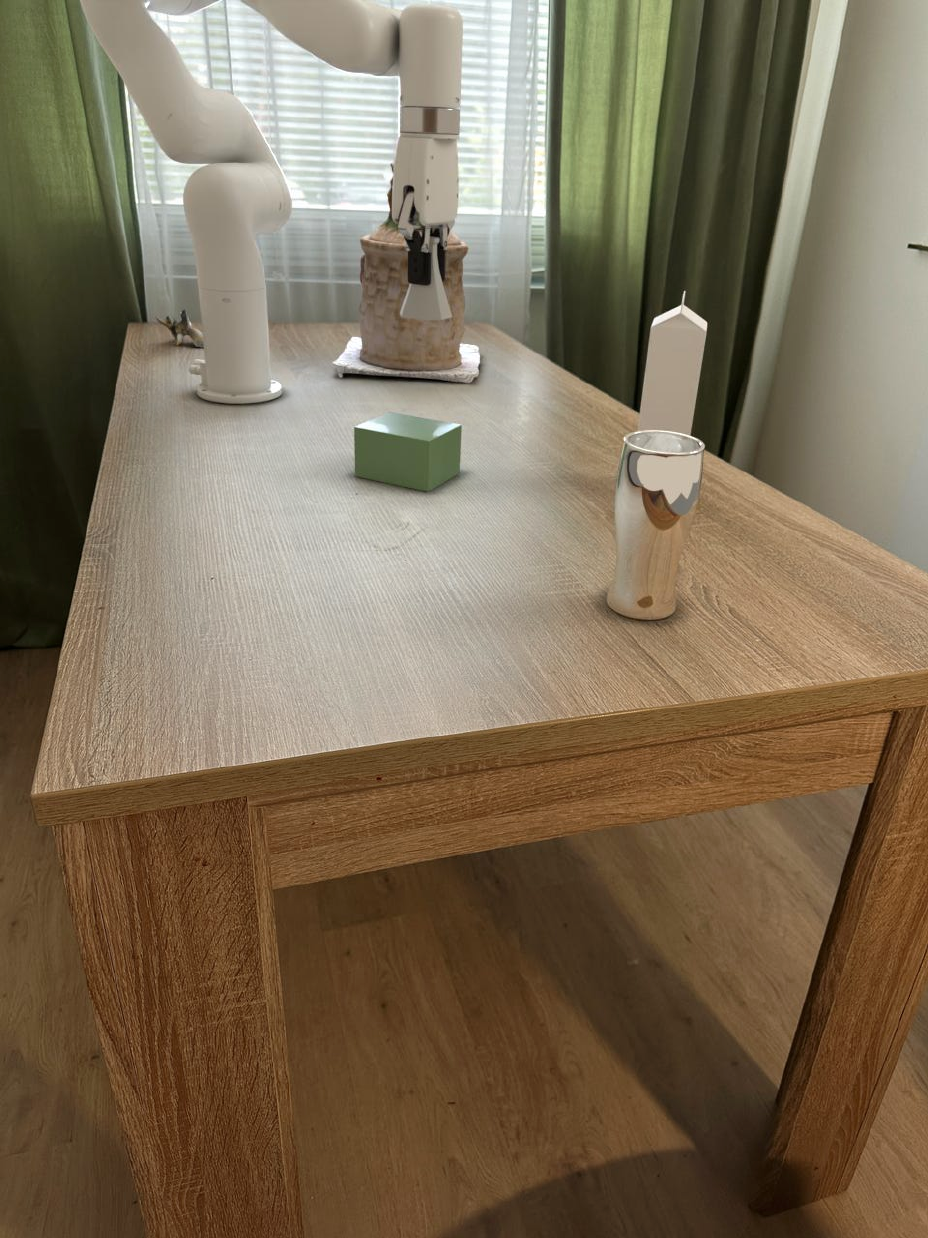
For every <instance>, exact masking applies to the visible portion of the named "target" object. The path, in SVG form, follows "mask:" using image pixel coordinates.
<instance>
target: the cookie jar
mask: <svg viewBox="0 0 928 1238" xmlns="http://www.w3.org/2000/svg"><path fill="white" fill-rule="evenodd" d="M389 165H390V167H391V171H392V174H393V173H394V162H391V163H390V164H389ZM389 183H390V188H389V190H388V192H387V193H386V196H387V203H388V206H389V212H388V216H387V218H386V220H385V221H384V222H382V223H381V224H380V225H379V226H378V227H377V228H376V229H375V230H374V231H373V232H372V233H371V234H366V235H364V236H362V237H361V238H360V239H359V242H360V247H361V250H362V252H363V254H362V255H361V257H360V261H359V262H360V273H359V281H360V284H361V294H360V295H361V297H360V303H359V307H358V317H357V318H358V323H359V324H358V326H359V331H360V337H357V336H352V337H351V338H350V340H349V341H348V342H347V344H346V347H345V349H344V351H343V352H341V354H340V355H339V356H338V358H336V359H335V360H333V361H332V365H333V366H334V368H335V369H336V371H337V375H338V377H339V378H340V379H341V378H343V377H344V375H343V374H357V375H368V376H380V377H381V376H383V377H400V378H401V377H402V378H415V379H417V378H418V379H430V380H437V381H447V382H453V383H465V384H471V383H472V382H473V380H474V378H478V376H479V374H480V370H479V365H480V364H481V358H482V357H481V355H480V347H478V346H477V345H474V344H467V343H461V342H462V340H463V337H464V333H465V322H466V316H465V311H466V296H465V292H464V282H463V275H464V261H463V260H464V258H465V257H466V256H467V254H468V251H469V245H468V244H467V243H465V242H464V241H462V240H461V239H460V237H458V236H457V235H456V234H455V233H454V232H453V231H452V230H450V232H449V235H448V246H447V249H446V261H445V281H443V282H442V283H443V287H444V291H445V294H446V297H447V301H448V304H449V307H450V311H451V314H452V317H451V318H447V319H444V320H417V319H411V318H404V317H401V315H400V311H401V308H402V305H403V302H404V299H405V297H406V294H407V291H408V288H409V285H410V283H408V251H407V250H406V240H405V238H404V236H403V235H402V234H401V233H400V232H399V230H398V224H397V223H395V222H394V221H393V219H392V190H393V176H392V178H391V179H390V181H389ZM414 225H421V223H420V222H416V223H414ZM434 229H435V228H433V232H434ZM417 231H419V233H420V235H421V236H422V230H417ZM443 250H445V249H443Z"/></svg>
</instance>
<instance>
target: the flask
mask: <svg viewBox="0 0 928 1238" xmlns="http://www.w3.org/2000/svg"><path fill="white" fill-rule="evenodd" d="M421 237H422V236H421ZM438 243H439V238H438V237H430V239H429V250H428V252H431V253H432V257H431V284H430V285H418V284H410V285H409V288H408V291H407V294H406V297H405V299H404V302H403V305H402V308H401V311H400V315H401V317H404V318H411V319H417V320H444V319H447V318H451V317H452V314H451V311H450V307H449V304H448V301H447V297H446V294H445V291H444V287H443V283H442V279H441V276H440V272H439V267H438V259H437V244H438Z"/></svg>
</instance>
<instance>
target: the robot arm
mask: <svg viewBox="0 0 928 1238" xmlns="http://www.w3.org/2000/svg"><path fill="white" fill-rule="evenodd" d="M222 1H223V0H79V2H80V6H81V9H82V12H83V14H84V17H85V19H86V21H87V23H88V25H89V27H90V30H91V32H92V33H93V35H94V37H95V38H96V40H97V42H98V43H99V45H100V47H101V48H102V49H103V51H104V53H105V54H106V56H107V57H108V59H109V60H110V61H111V63H112V65H113V66H114V68H115V69H116V71H117V73H118V75H119V77H120V79H121V80H122V82H123V83H124V86H125V87H126V89H127V91H128V93H129V96H130V97H131V98H132V100H133V102H134V104H135V105H136V107H137V109H138V111H139V113H140V114H141V117H142V118H143V120H144V122H145V123H146V126H147V127H148V129H149V131H150V132H151V134H152V136H153V138H154V139H155V141H156V143H157V144H158V146H159V148H160V149H161V150H162V152H163V153H164V154H165V156H167V157H168V158H169V159H170V160H172V161H173V162H176V163H180V164H186V165H203V166H200V167H199V168H197V169H196V170H195V171H193V172H192V173H191V175H190V176H189V177H188V179H187V180H186V183H185V184H184V188H183V193H182V194H183V195H182V202H183V203H182V204H183V211H184V216H185V219H186V224H187V227H188V230H189V234H190V239H191V243H192V249H193V253H194V260H195V269H196V279H197V287H198V297H199V300H198V301H199V308H200V309H199V310H200V320H201V330H202V331H201V332H202V333H203V344H204V348H203V354H204V359H200V358H196V359H194V360H193V362H192V364H190V365H189V367H188V372H189V374H191V375H196V376H200V378H201V383H199V384H198V385H197V386H196V393H197V396H198V397H199V398H201V399H202V400H205V401H208V402H214V403H219V404H231V405H232V404H234V405H240V404H257V403H263V402H268V401H272V400H275V399H277V398H279V397H280V396H281V395H282V394H283V386H282V385H281V384H280V383H279V382H278V381H275V380H272V372H271V371H272V369H271V354H270V337H269V321H268V303H267V287H266V274H265V273H266V272H265V266H264V262H263V258H262V255H261V252H260V249H259V247H258V244H257V241H256V238H255V236H259V235H265V234H266V235H267V234H270V233H271V234H272V233H275V232H276V231H278V230H280V229H281V228H283V227H284V226H285V225H286V224H287V222H289V221H288V220H289V219H290V217H291V214H292V209H293V197H292V191H291V188H290V184H289V182H288V179H287V177H286V175H285V174H284V171H283V169H282V167H281V165H280V164H279V162H278V160H277V158H276V157H275V154H274V153H273V151H272V148H271V147H270V145H269V143H268V141H267V139H266V138H265V136H264V134H263V132H262V130H261V128H260V127H259V125H258V123H257V121H256V119H255V118H254V116H253V114H252V112H251V111H250V110H249V108H248V107H247V106H246V104H244V103H243V101H241V100H240V99H239V98H238V97H236V96H235V95H233V94H232V93H230V92H228V91H225V90H222V89H219V88H212V87H211V88H209V87H204V86H202V85H201V84H199V83H198V81H197V80H196V79H195V78H194V76H193V74H192V73H191V71H190V70H189V68H188V67H187V65H186V63H185V61H184V60H183V57H182V56H181V53H180V51H179V49H178V47H177V46H176V45H175V44H174V41H172V39H171V38H170V36H169V35H168V34H167V33H166V32H165V31H164V30H163V29H162V27H161V26H160V25H159V24H158V23H157V22H156V21H155V19H154V18H153V17H152V15H151V14H150V12H154V13H158V14H164V15H169V16H174V17H175V16H178V17H179V16H182V17H183V16H188V15H193V14H195V13H197V12H200V11H202V10H204V9H206V8H209V7H212V6H213V5H215V4H218V3H220V2H222ZM238 1H239V2H241V3H243V4H244V6H245V5H246V6H247V7H249V8H250V9H252V11H255V12H256V13H258V14H259V15H260V16H262V17H263V18H265V19H266V21H267V22H268V23H269V24H270V25H271V26H272V27H273V28H274V29H275V30H276V31H278V33H279V34H281V35H282V36H283V37H285V38H286V39H287V40H288V41H290V42H292V43H293V44H294V45H296V46H297V47H299V48H301V49H303V50H304V51H306V52H307V53H309V54H311V55H312V56H313V57H315V58H317V59H318V60H319V61H322V62H323V63H325V64H326V65H329V66H330V67H332V68H334V69H336V70H338V71H340V72H343V73H347V74H353V75H363V76H366V77H367V76H368V77H372V78H373V77H374V78H380V79H390V78H397V77H398V137H397V142H396V147H395V152H394V162H393V163H394V173H393V172H392V177H393V190H392V219H393V221H394V222H395V223H397V224H398V230H399V232H400V233H401V234H402V235H403V236H404V238H405V240H406V250H407V251H408V283H410V284H418V285H430V284H431V257H432V253H431V252H428V250H429V239H430V237H438V238H439V243H438V244H437V259H438V267H439V272H440V276H441V279H442V282H443V281H445V261H446V249H447V246H448V235H449V232H450V231H452V229H453V228H454V226H455V222H456V221H455V220H456V218H457V216H458V209H459V191H460V189H459V186H460V184H459V183H460V182H459V176H460V175H459V154H458V141H459V140H460V131H461V130H460V128H461V103H462V102H461V99H462V73H463V72H462V69H463V39H464V37H463V36H464V22H463V18H462V15H461V12H460V11H459V10H458V9H456V8H454V7H452V6H449V5H444V4H436V3H435V4H434V3H418V4H411V5H408V6H406V7H404V8H403V9H397V8H393V7H388V6H385V5H381V4H378V3H376V2H374V1H373V2H372V1H369V0H238ZM457 140H458V141H457ZM416 222H420V223H421V225H414V223H416ZM433 228H435V229H434V232H433ZM417 230H422V237H421V235H420V233H419V231H417ZM443 249H445V250H443Z"/></svg>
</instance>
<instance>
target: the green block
mask: <svg viewBox="0 0 928 1238" xmlns="http://www.w3.org/2000/svg"><path fill="white" fill-rule="evenodd" d="M462 427H463V426H462V424H459V423H453V422H448V421H442V420H436V419H431V418H426V417H421V416H415V415H409V414H403V413H398V412H392V411H388V412H386V413H383V414H381V415H378V416H377V417H374V418H372V419H369V420H367V421H364V422H362V423H360V424H358V425H355V426H354V427H353V432H354V433H353V438H354V439H353V440H354V441H353V446H354V451H353V452H354V477H357V478H361V479H362V478H363V479H365V480H371V481H376V482H381V483H384V484H389V485H394V486H399V487H404V488H408V489H413V490H417V491H422V492H426V493H429V492H431V491H432V490H434V489H435V488H438V487H439V486H440V485H442V484H444V483H445V482H447V481H449V480H451V479H453V478H454V477H456V476H457V475H459V474H460V473H461V455H462V454H461V453H462V429H463V428H462Z"/></svg>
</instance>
